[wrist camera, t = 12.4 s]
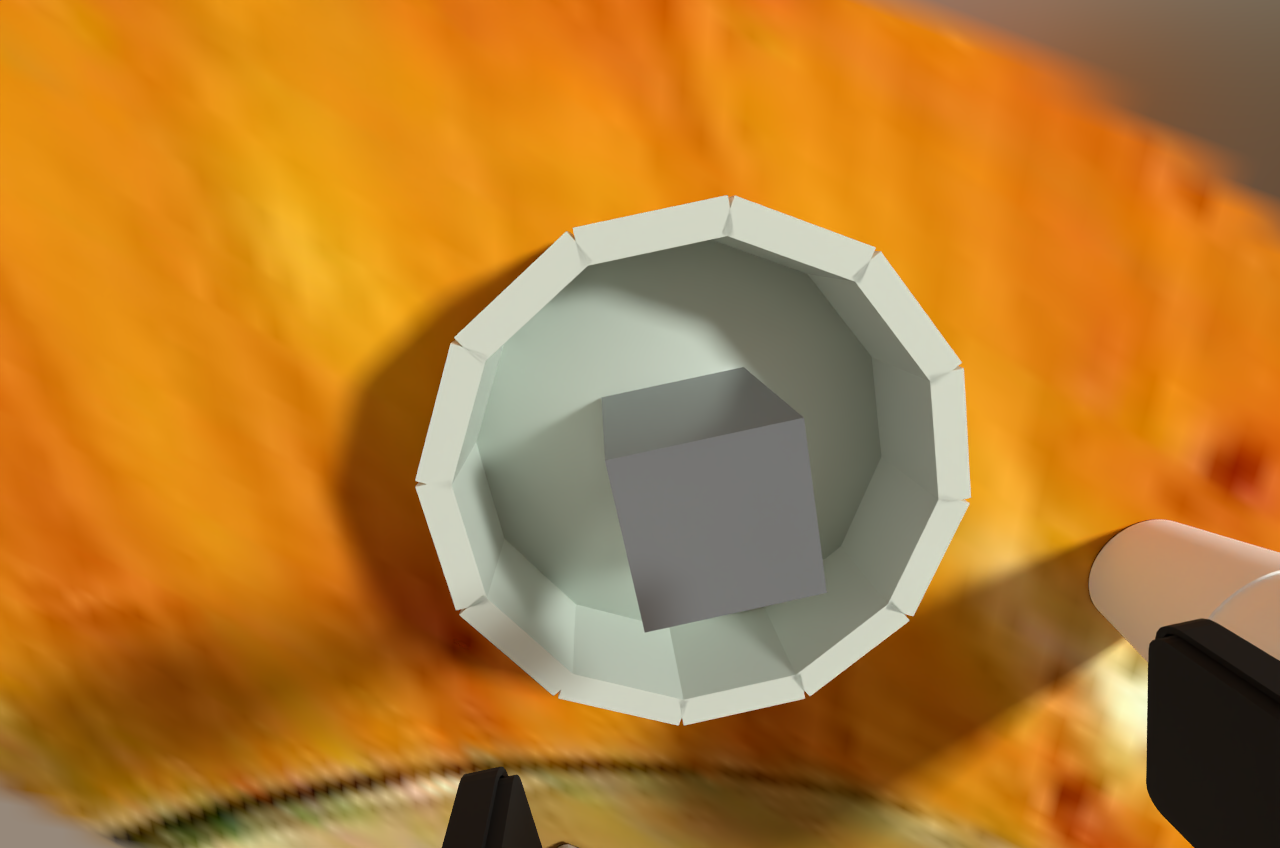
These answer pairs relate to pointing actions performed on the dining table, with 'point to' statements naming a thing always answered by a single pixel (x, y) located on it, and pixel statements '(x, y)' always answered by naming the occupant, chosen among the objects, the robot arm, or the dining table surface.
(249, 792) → the dining table surface
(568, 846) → the decorative stone
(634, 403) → the matte grey cube
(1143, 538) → the cup
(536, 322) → the bowl
